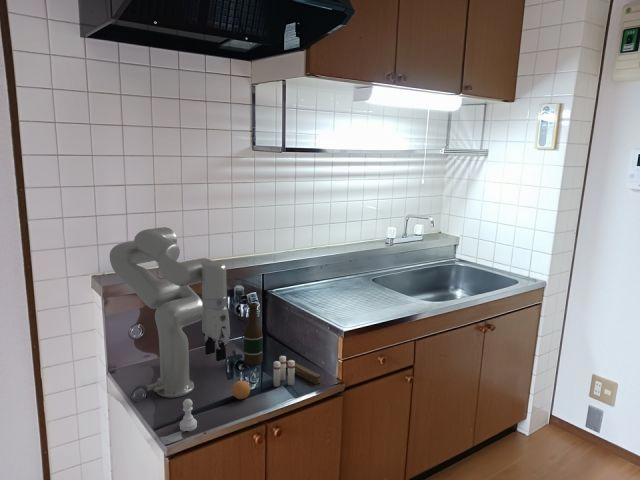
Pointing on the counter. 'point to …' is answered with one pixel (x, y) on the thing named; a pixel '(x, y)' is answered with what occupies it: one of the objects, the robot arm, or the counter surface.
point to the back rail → (306, 373)
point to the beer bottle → (253, 338)
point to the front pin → (276, 373)
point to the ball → (241, 389)
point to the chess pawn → (188, 417)
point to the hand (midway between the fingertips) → (215, 356)
